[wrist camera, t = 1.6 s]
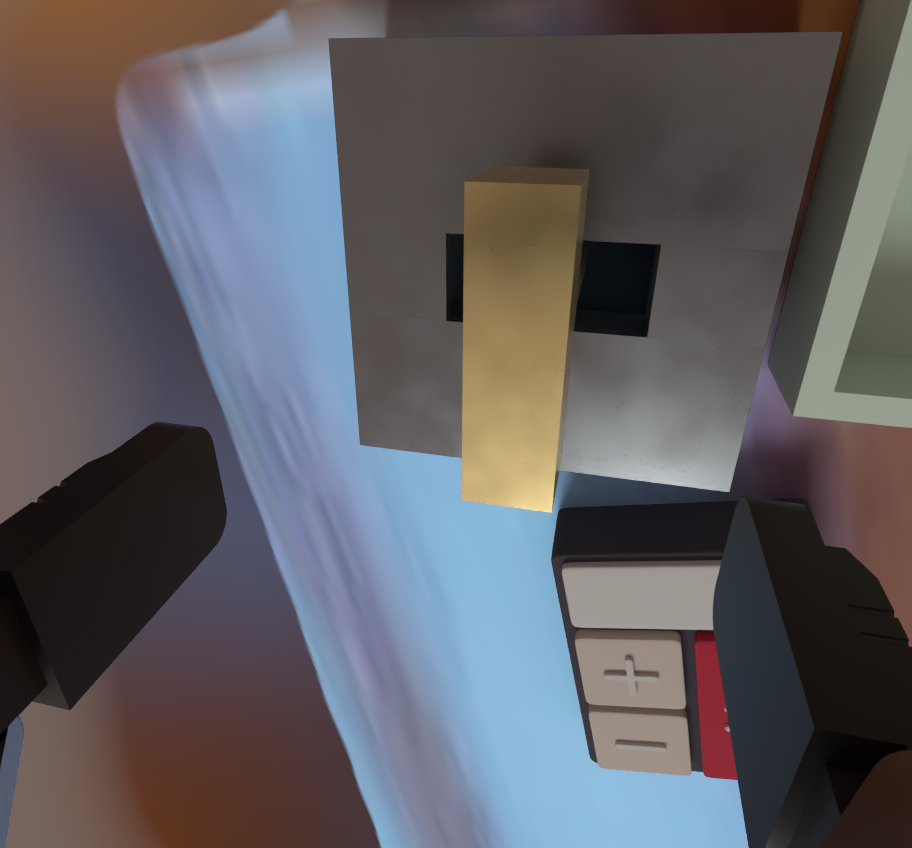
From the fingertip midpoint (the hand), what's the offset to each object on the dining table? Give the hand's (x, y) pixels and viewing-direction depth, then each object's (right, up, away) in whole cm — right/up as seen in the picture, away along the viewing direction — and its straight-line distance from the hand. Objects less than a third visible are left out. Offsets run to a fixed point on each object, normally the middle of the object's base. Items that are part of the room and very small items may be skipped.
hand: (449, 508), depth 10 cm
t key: (+4, +8, +15) cm, 18 cm away
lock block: (+4, +8, +15) cm, 18 cm away
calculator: (+12, -9, +23) cm, 27 cm away
